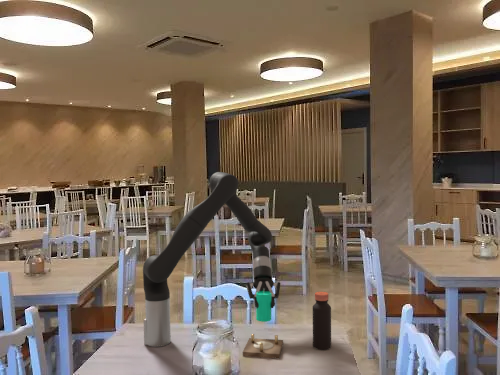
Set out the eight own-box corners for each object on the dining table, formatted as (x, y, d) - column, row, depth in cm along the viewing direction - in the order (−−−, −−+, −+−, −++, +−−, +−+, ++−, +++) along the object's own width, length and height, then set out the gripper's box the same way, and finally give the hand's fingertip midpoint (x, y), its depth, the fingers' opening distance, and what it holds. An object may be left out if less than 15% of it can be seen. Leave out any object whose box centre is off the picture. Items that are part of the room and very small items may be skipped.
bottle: (335, 347, 166) (334, 293, 165) (322, 352, 162) (322, 297, 161) (321, 341, 171) (321, 289, 171) (308, 346, 167) (308, 293, 166)
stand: (242, 356, 159) (242, 351, 159) (249, 342, 172) (249, 337, 172) (279, 358, 157) (279, 353, 157) (283, 343, 170) (283, 339, 170)
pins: (247, 351, 160) (247, 342, 160) (251, 341, 168) (251, 333, 168) (275, 352, 158) (275, 344, 158) (278, 343, 167) (278, 335, 167)
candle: (270, 322, 173) (270, 291, 172) (254, 321, 174) (254, 290, 173) (272, 317, 179) (272, 287, 178) (257, 316, 180) (257, 286, 179)
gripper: (245, 264, 182) (247, 302, 171) (280, 264, 183) (284, 302, 172) (244, 274, 188) (246, 312, 177) (278, 274, 189) (282, 311, 178)
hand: (265, 307), depth 174 cm, fingers closed on candle, 5 cm apart
